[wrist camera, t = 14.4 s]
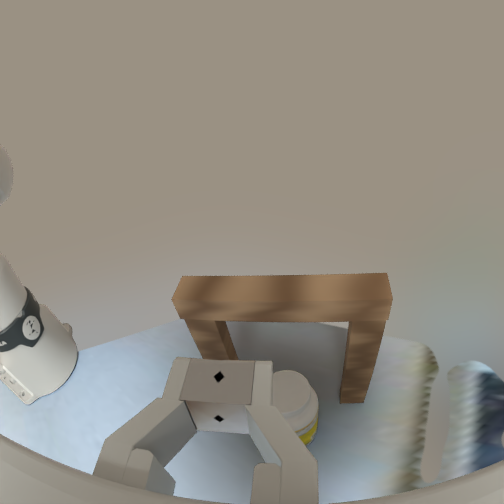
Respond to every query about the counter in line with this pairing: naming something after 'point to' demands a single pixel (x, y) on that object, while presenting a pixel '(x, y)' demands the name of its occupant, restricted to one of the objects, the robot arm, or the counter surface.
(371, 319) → the walnut archway
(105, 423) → the counter surface
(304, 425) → the pill bottle
